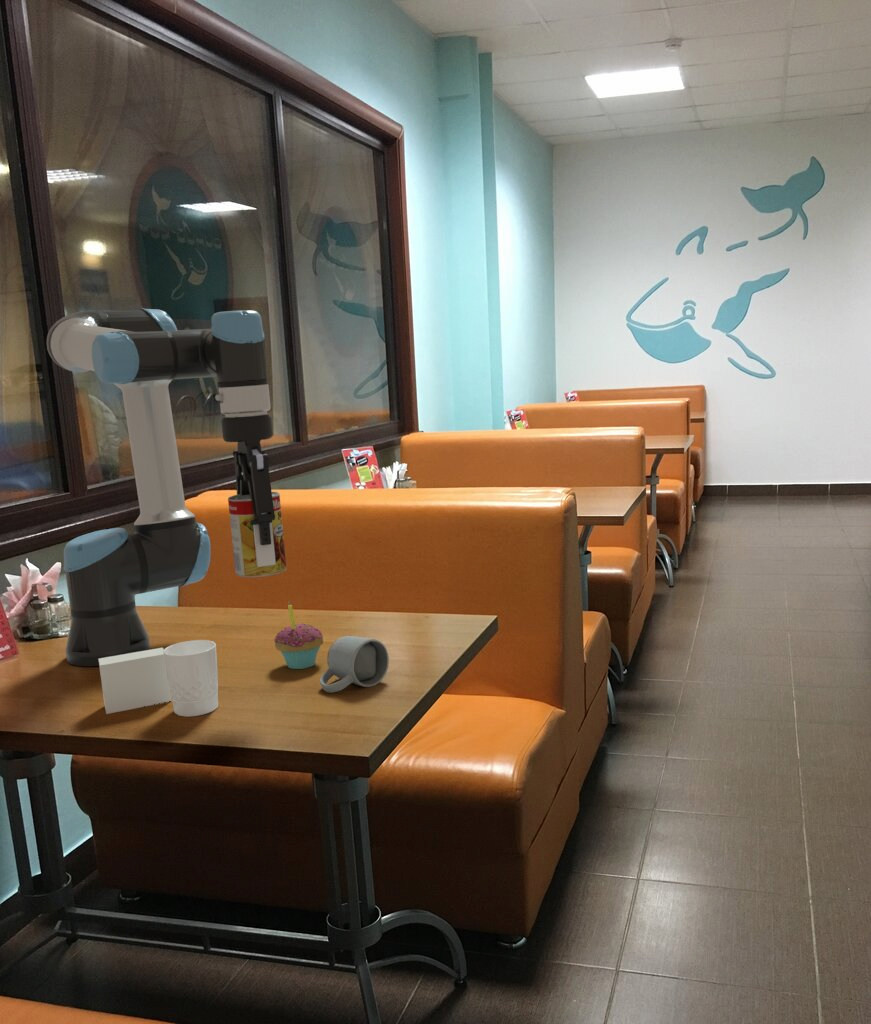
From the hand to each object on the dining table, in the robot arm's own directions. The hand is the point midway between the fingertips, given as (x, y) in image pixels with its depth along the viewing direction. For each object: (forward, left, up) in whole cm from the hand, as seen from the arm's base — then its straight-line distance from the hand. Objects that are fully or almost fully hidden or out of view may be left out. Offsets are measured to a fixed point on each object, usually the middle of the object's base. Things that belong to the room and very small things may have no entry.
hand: (260, 560), depth 148 cm
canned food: (0, 0, -2) cm, 2 cm away
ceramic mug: (+2, +13, -22) cm, 26 cm away
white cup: (-1, -12, -22) cm, 25 cm away
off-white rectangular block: (-9, -20, -22) cm, 31 cm away
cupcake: (-13, +8, -22) cm, 27 cm away
